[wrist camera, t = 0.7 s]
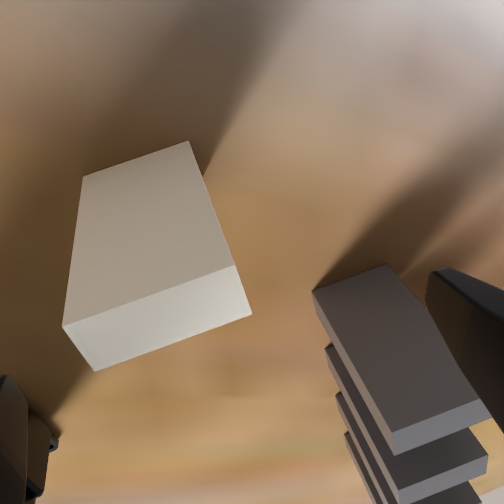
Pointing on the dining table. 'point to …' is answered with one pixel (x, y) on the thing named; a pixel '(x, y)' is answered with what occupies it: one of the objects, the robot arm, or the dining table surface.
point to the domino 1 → (362, 470)
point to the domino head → (148, 260)
